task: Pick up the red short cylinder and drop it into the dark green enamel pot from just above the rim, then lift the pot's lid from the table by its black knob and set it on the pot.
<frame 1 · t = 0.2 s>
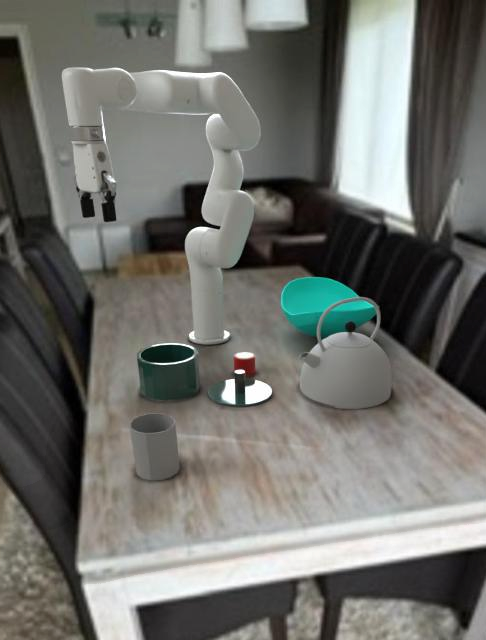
hand: (99, 219, 136), 37 cm above the table, tool pointing down, fingers open, 9 cm apart
red short cylinder: (244, 373, 151), on the table
cup: (157, 469, 110), on the table
kettle: (340, 390, 141), on the table
table top decor: (326, 336, 177), on the table
pot lid: (240, 393, 139), point 1 cm above the table
pot: (170, 389, 142), on the table
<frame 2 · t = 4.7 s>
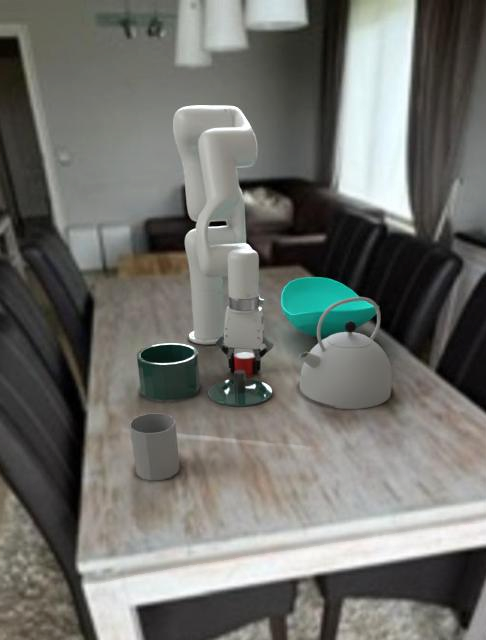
hand: (244, 371, 150), 1 cm above the table, tool pointing down, fingers closed on red short cylinder, 5 cm apart
red short cylinder: (244, 373, 151), on the table, touching gripper
everything else where it was.
when the fingers open (12 cm above the table, at t = 10.4 s): red short cylinder drops 11 cm, resting on pot.
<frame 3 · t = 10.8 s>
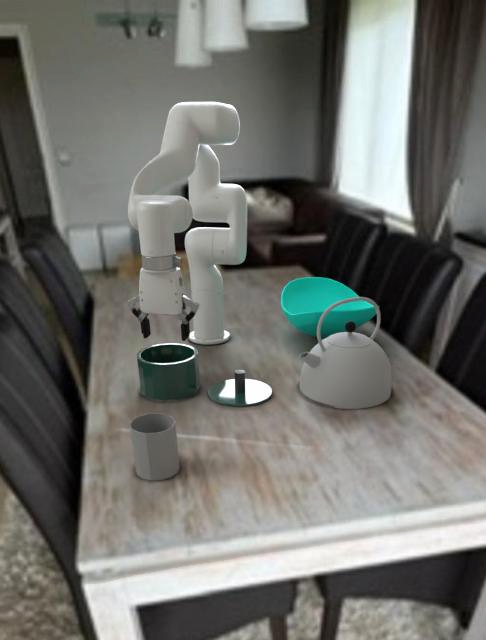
hand: (166, 337, 135), 13 cm above the table, tool pointing down, fingers open, 9 cm apart
red short cylinder: (170, 387, 142), point 1 cm above the table, touching pot
everything else where it was.
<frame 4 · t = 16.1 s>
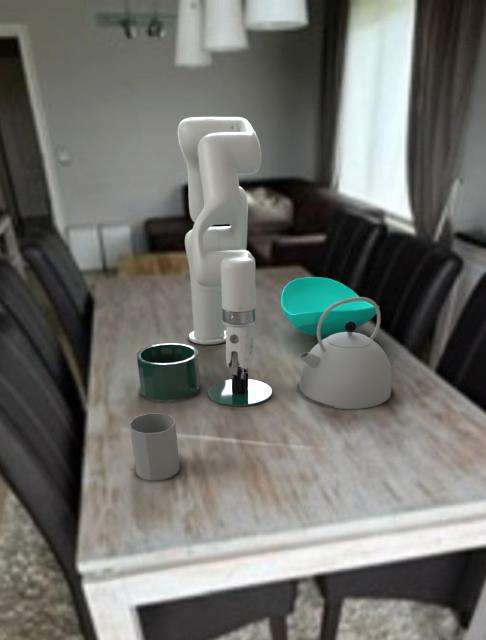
hand: (240, 390, 138), 1 cm above the table, tool pointing down, fingers closed on pot lid, 2 cm apart
pot lid: (240, 393, 139), point 1 cm above the table, touching gripper
everything else where it was.
when the fingers open (10 cm above the table, at t = 21.2 s): pot lid stays where it is, resting on pot.
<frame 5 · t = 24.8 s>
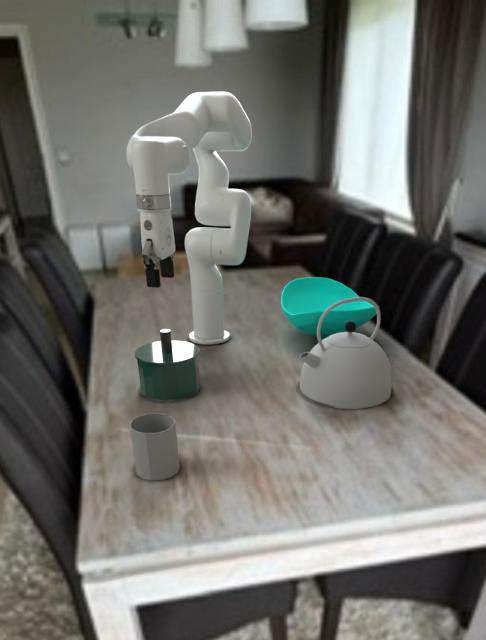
hand: (161, 282, 136), 24 cm above the table, tool pointing down, fingers open, 9 cm apart
pot lid: (167, 353, 137), point 9 cm above the table, touching pot
everything else where it was.
at the end: red short cylinder inside the target area in the pot (0.0 cm from its centre), point 0.5 cm above the pot's base; pot lid 0.0 cm off-centre on the pot, point 9.5 cm above the pot's base; pot lid tilted 0° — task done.
